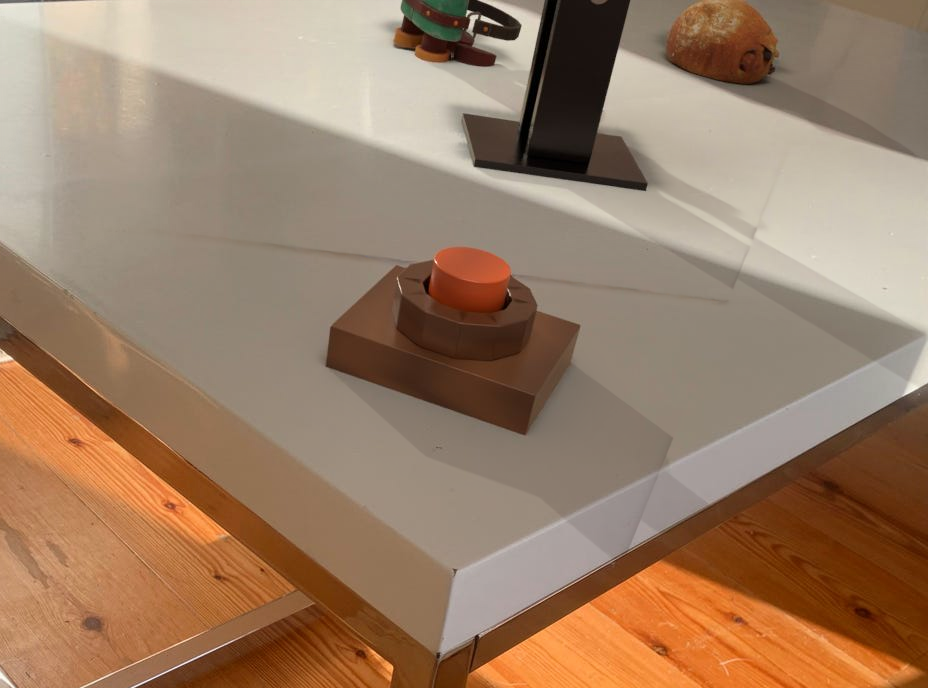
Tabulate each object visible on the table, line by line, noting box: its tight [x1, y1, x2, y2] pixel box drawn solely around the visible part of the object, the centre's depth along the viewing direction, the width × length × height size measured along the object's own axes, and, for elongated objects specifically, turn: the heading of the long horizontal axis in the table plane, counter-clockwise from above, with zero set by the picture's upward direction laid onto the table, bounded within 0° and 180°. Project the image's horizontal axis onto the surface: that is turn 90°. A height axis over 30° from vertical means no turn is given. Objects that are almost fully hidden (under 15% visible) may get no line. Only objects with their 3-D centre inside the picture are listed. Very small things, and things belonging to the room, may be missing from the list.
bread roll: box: [665, 0, 780, 85], centre depth 107 cm, size 10×10×8 cm
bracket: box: [461, 0, 649, 192], centre depth 75 cm, size 12×9×14 cm
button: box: [428, 246, 512, 313], centre depth 52 cm, size 4×4×2 cm
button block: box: [325, 259, 581, 436], centre depth 54 cm, size 10×8×4 cm
